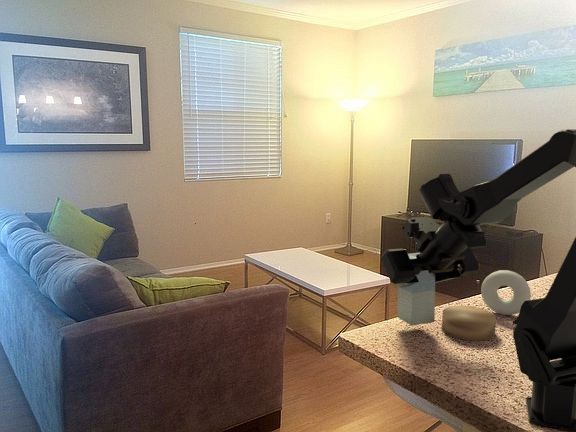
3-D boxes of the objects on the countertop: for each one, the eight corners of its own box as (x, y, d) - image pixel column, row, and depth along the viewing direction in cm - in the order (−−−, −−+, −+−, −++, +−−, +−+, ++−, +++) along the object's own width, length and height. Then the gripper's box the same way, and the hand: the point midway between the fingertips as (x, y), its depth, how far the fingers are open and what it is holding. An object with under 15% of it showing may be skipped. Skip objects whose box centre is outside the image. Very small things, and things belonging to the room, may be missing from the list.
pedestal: (495, 344, 89) (496, 326, 88) (439, 336, 93) (440, 318, 92) (494, 325, 98) (495, 309, 97) (443, 318, 102) (444, 303, 101)
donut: (529, 316, 103) (533, 271, 102) (528, 321, 100) (532, 275, 99) (480, 308, 108) (483, 265, 107) (478, 312, 105) (481, 269, 104)
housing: (434, 322, 93) (435, 257, 92) (411, 325, 92) (412, 260, 90) (419, 313, 98) (420, 252, 96) (397, 316, 97) (397, 254, 95)
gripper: (472, 202, 91) (434, 247, 103) (388, 207, 85) (357, 254, 97) (500, 251, 85) (456, 293, 97) (411, 259, 79) (376, 303, 91)
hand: (412, 284), depth 95 cm, fingers closed on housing, 5 cm apart
